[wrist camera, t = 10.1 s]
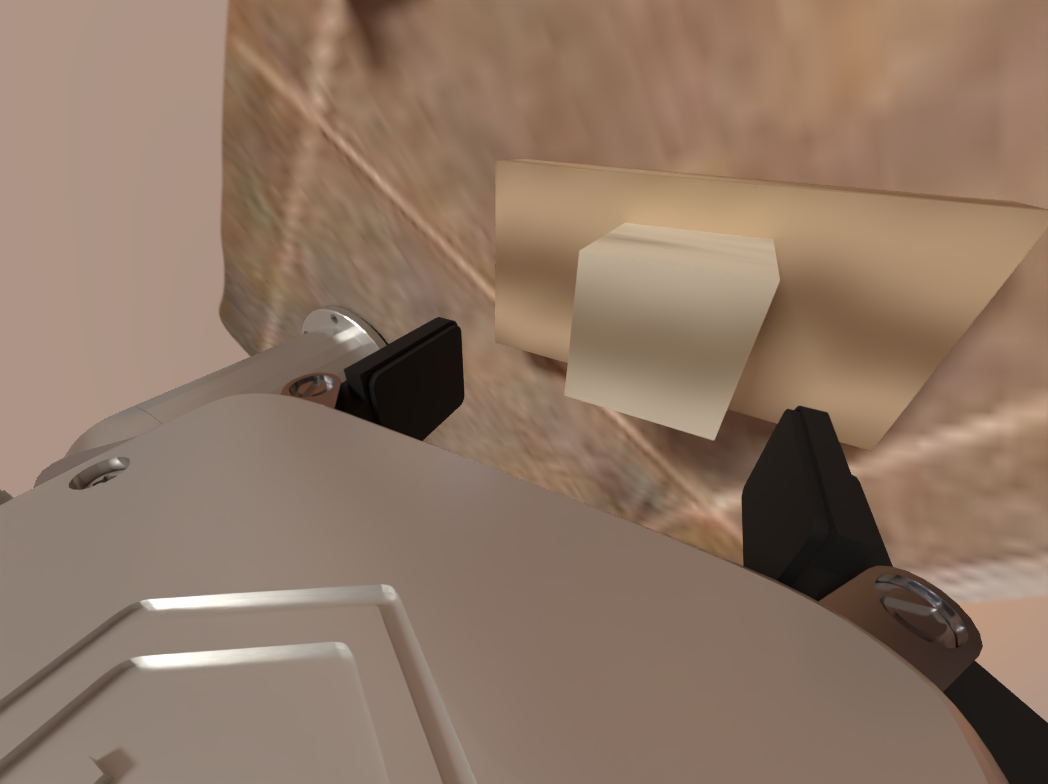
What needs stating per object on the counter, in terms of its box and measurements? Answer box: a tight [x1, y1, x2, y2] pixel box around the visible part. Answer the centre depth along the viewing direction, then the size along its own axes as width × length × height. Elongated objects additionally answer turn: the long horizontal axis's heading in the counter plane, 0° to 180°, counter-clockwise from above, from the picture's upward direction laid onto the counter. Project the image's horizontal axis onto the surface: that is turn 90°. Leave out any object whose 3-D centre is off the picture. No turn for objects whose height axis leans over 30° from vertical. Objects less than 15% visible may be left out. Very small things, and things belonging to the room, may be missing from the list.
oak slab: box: [495, 159, 1048, 451], centre depth 19 cm, size 10×20×4 cm, turn 86°
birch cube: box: [564, 223, 780, 440], centre depth 16 cm, size 6×6×6 cm
